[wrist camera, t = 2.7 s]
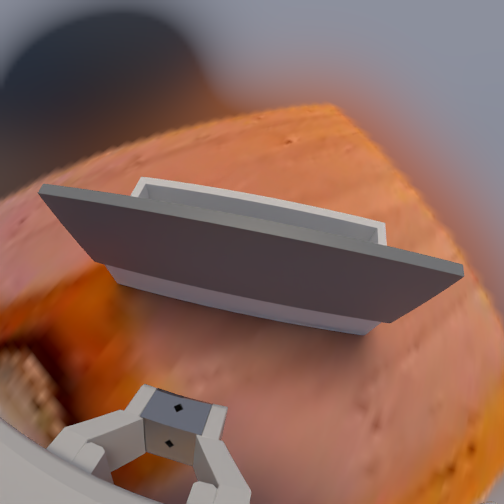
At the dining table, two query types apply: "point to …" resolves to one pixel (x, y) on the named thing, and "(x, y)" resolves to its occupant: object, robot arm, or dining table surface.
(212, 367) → the dining table surface
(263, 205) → the cable duct
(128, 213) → the plate
